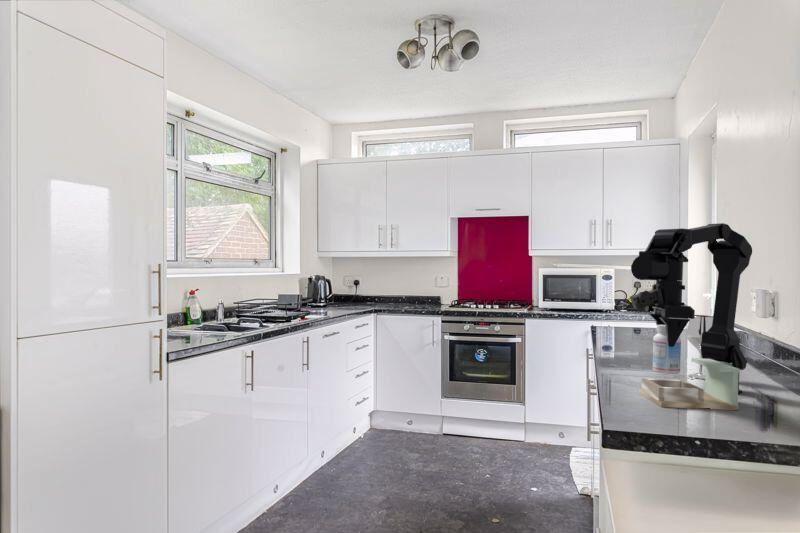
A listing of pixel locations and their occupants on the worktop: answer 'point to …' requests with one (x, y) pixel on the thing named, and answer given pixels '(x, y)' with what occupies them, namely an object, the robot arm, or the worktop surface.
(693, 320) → the wineglass
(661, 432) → the worktop surface
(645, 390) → the socket board
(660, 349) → the pill bottle
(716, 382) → the awning
